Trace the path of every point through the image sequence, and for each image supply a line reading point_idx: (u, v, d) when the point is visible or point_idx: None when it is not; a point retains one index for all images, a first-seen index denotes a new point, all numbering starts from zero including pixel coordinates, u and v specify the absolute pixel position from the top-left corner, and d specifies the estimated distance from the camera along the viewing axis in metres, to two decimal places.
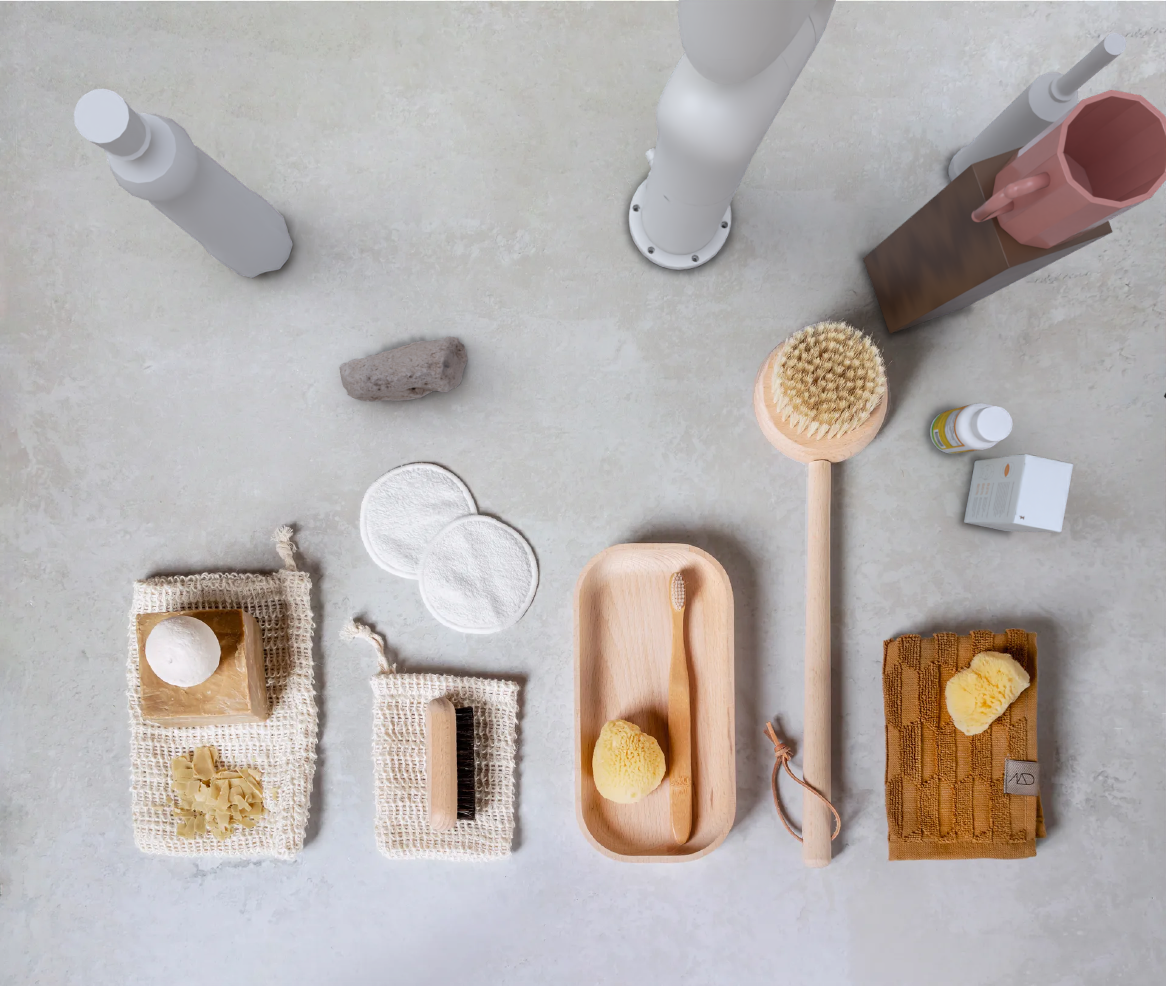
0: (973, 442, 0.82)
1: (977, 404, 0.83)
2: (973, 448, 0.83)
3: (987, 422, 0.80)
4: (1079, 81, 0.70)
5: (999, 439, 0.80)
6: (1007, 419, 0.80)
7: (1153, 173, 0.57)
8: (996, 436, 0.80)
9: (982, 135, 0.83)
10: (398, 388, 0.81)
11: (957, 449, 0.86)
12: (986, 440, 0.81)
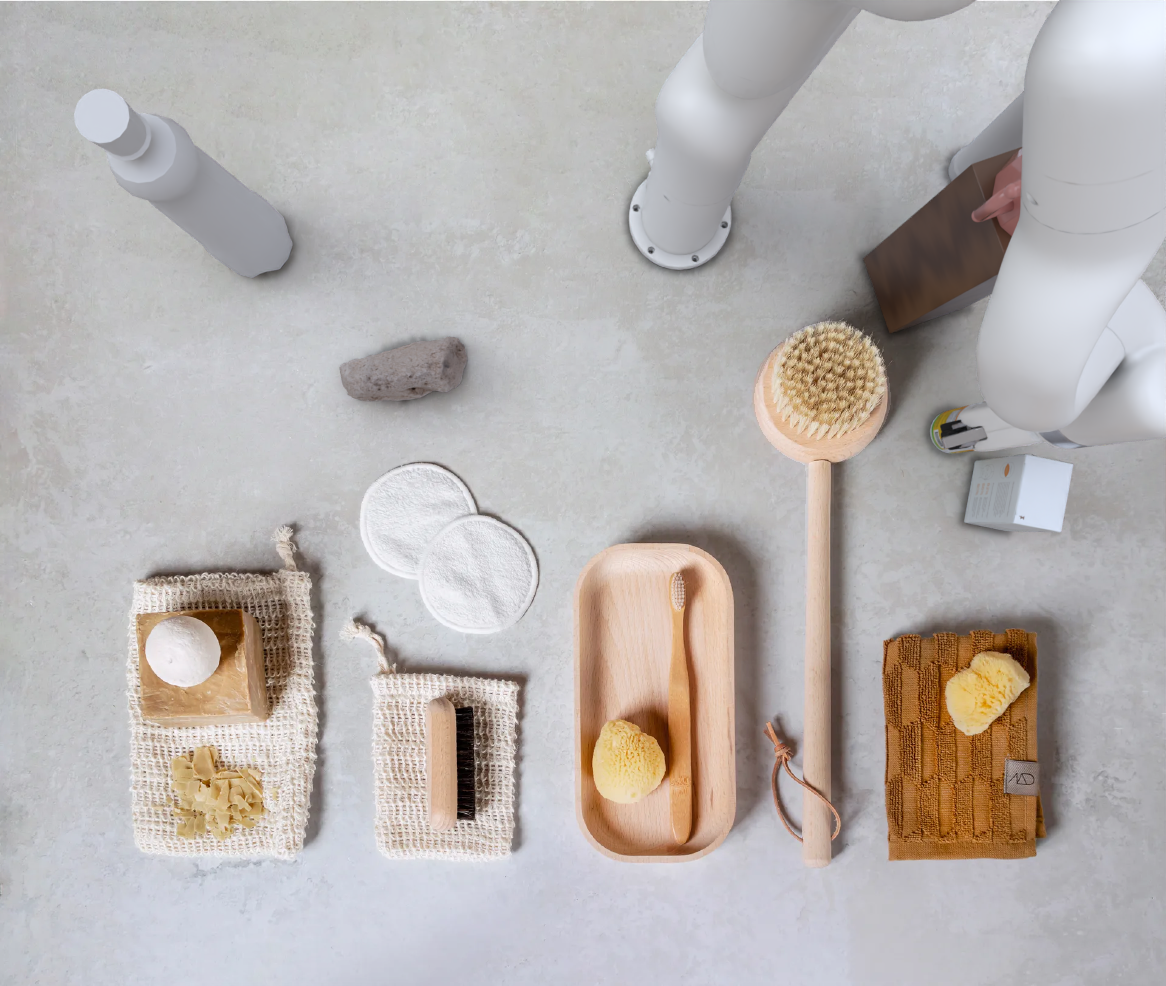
0: None
1: None
2: None
3: None
4: None
5: None
6: None
7: None
8: None
9: (982, 135, 0.83)
10: (398, 388, 0.81)
11: (957, 449, 0.86)
12: None
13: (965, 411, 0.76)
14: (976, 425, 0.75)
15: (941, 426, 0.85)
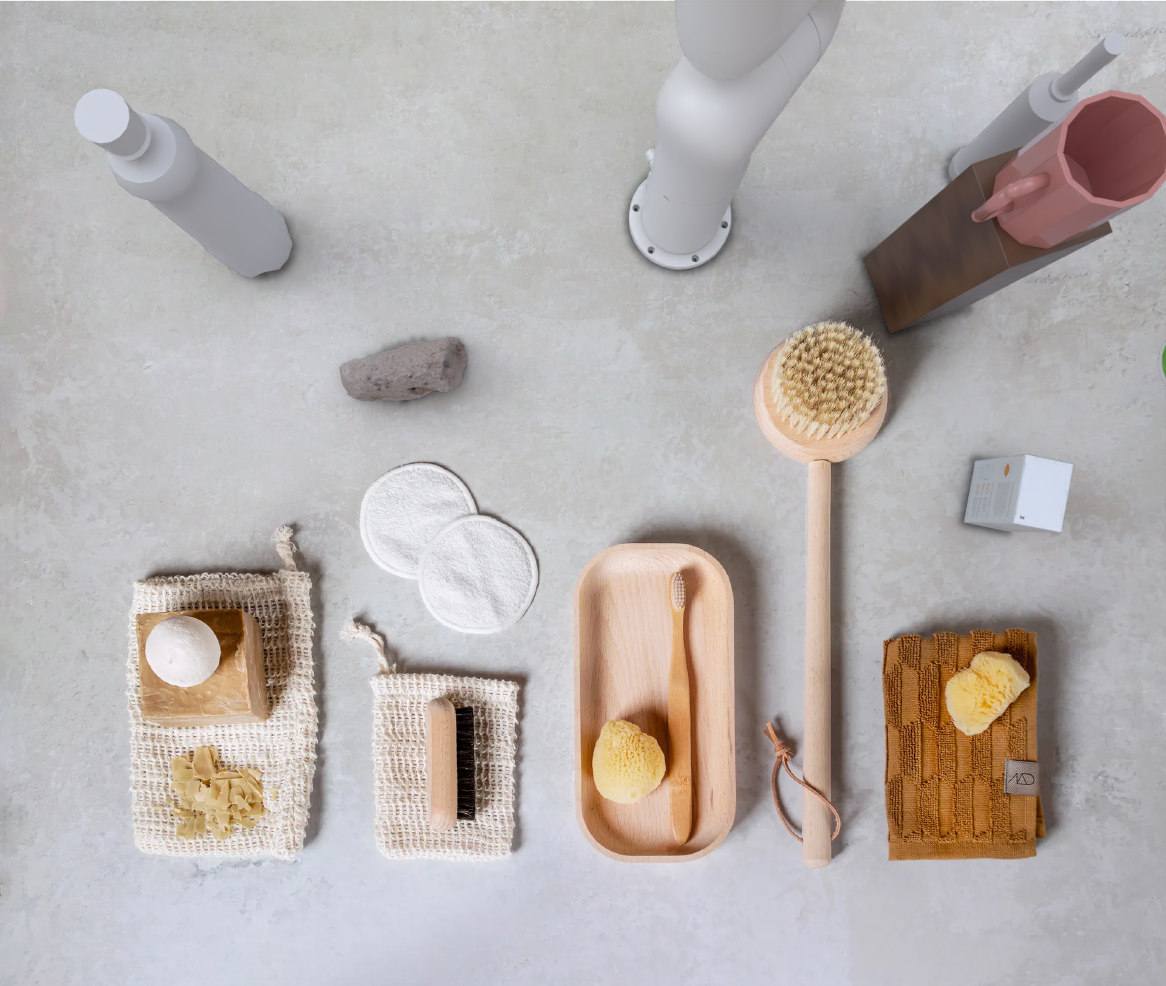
0: None
1: None
2: None
3: None
4: (1080, 80, 0.70)
5: None
6: None
7: (1153, 173, 0.57)
8: None
9: (982, 135, 0.83)
10: (398, 388, 0.81)
11: None
12: None
13: None
14: None
15: None
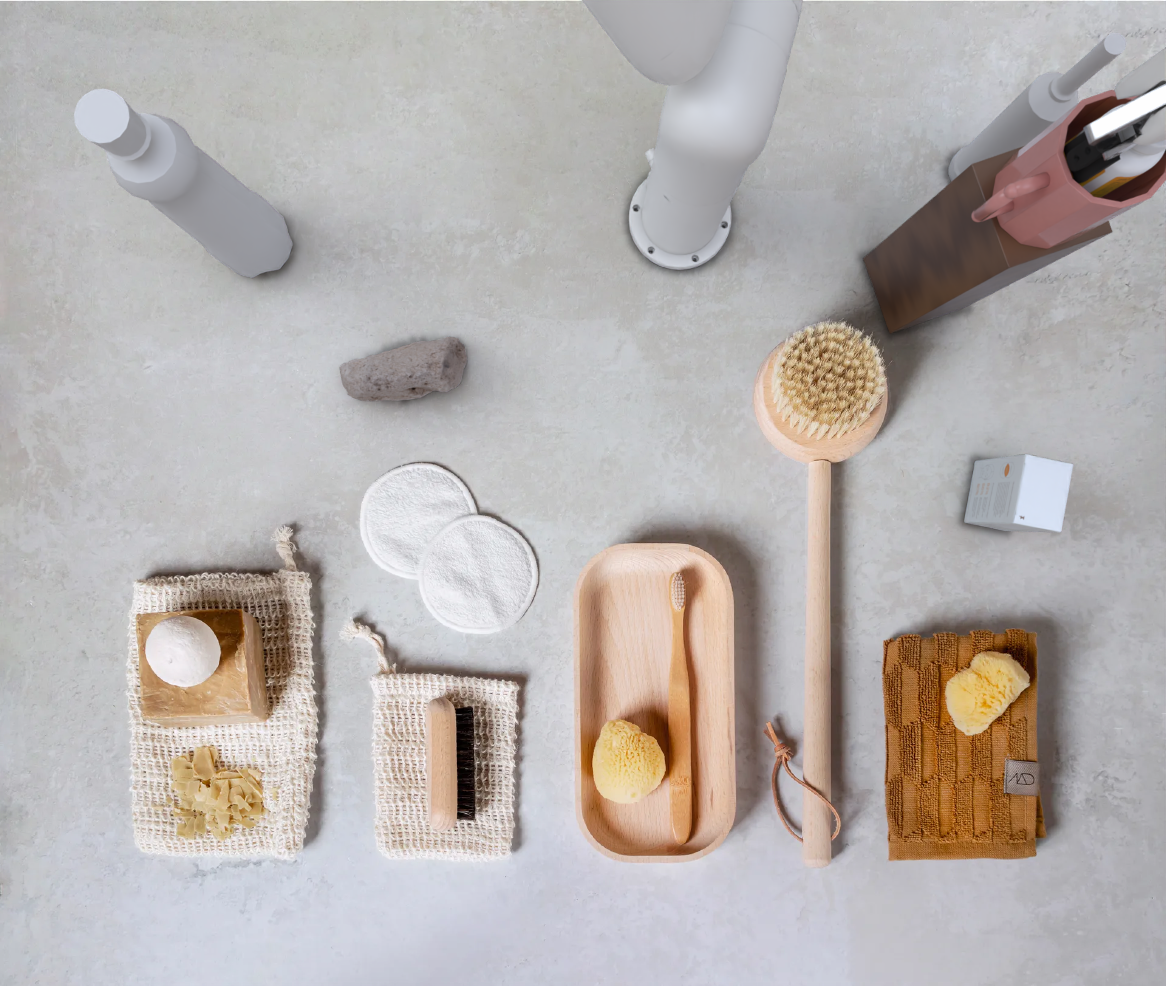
0: (1121, 160, 0.54)
1: None
2: (1119, 173, 0.55)
3: None
4: (1079, 80, 0.70)
5: None
6: None
7: (1153, 173, 0.57)
8: None
9: (982, 135, 0.83)
10: (398, 388, 0.81)
11: (1087, 188, 0.58)
12: (1147, 147, 0.52)
13: (1127, 75, 0.48)
14: (1151, 85, 0.46)
15: (1066, 147, 0.56)
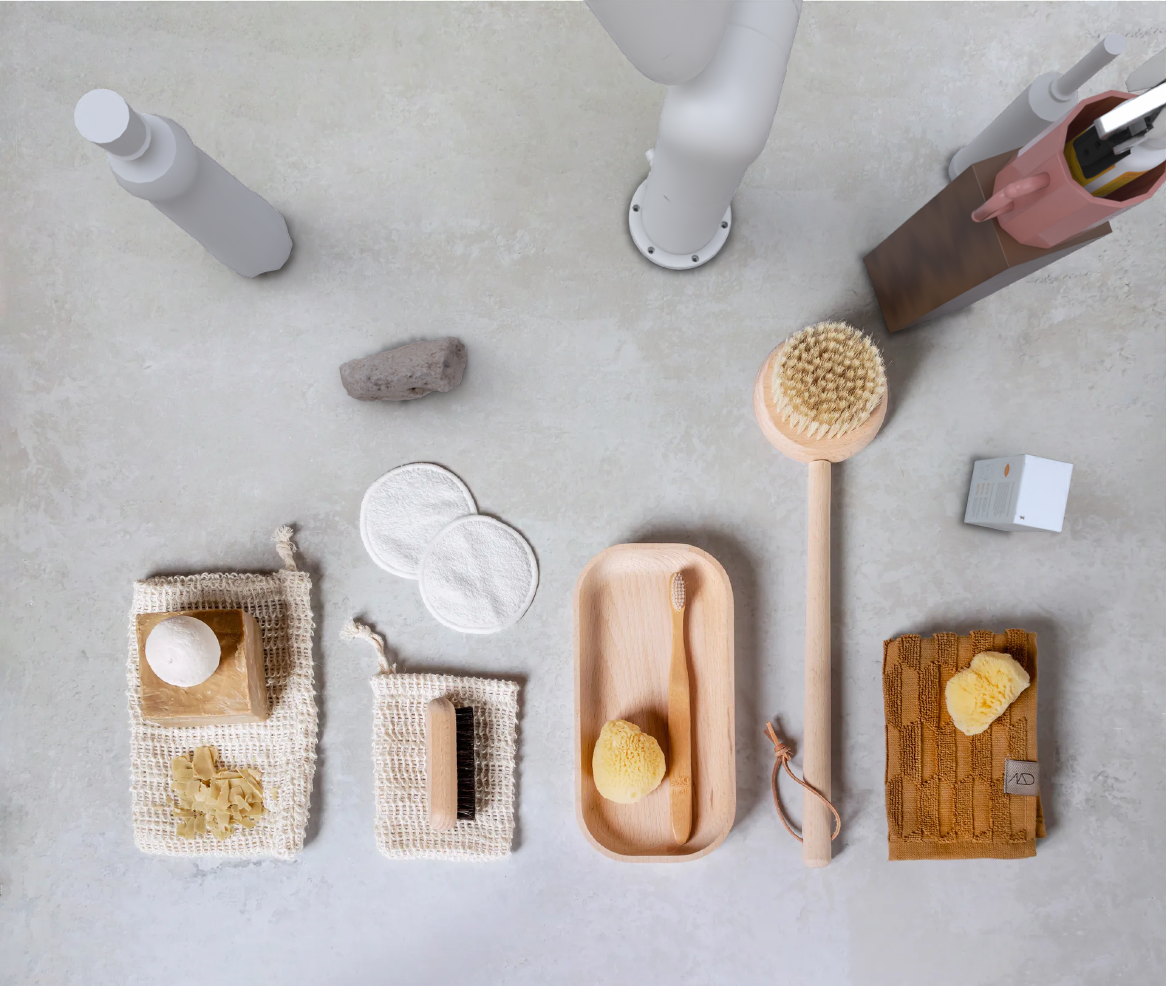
0: (1132, 155, 0.53)
1: None
2: (1129, 167, 0.54)
3: None
4: (1079, 80, 0.70)
5: None
6: None
7: (1153, 173, 0.57)
8: None
9: (982, 135, 0.83)
10: (398, 388, 0.81)
11: (1097, 183, 0.57)
12: (1158, 141, 0.51)
13: (1138, 67, 0.47)
14: (1163, 77, 0.45)
15: (1075, 142, 0.56)
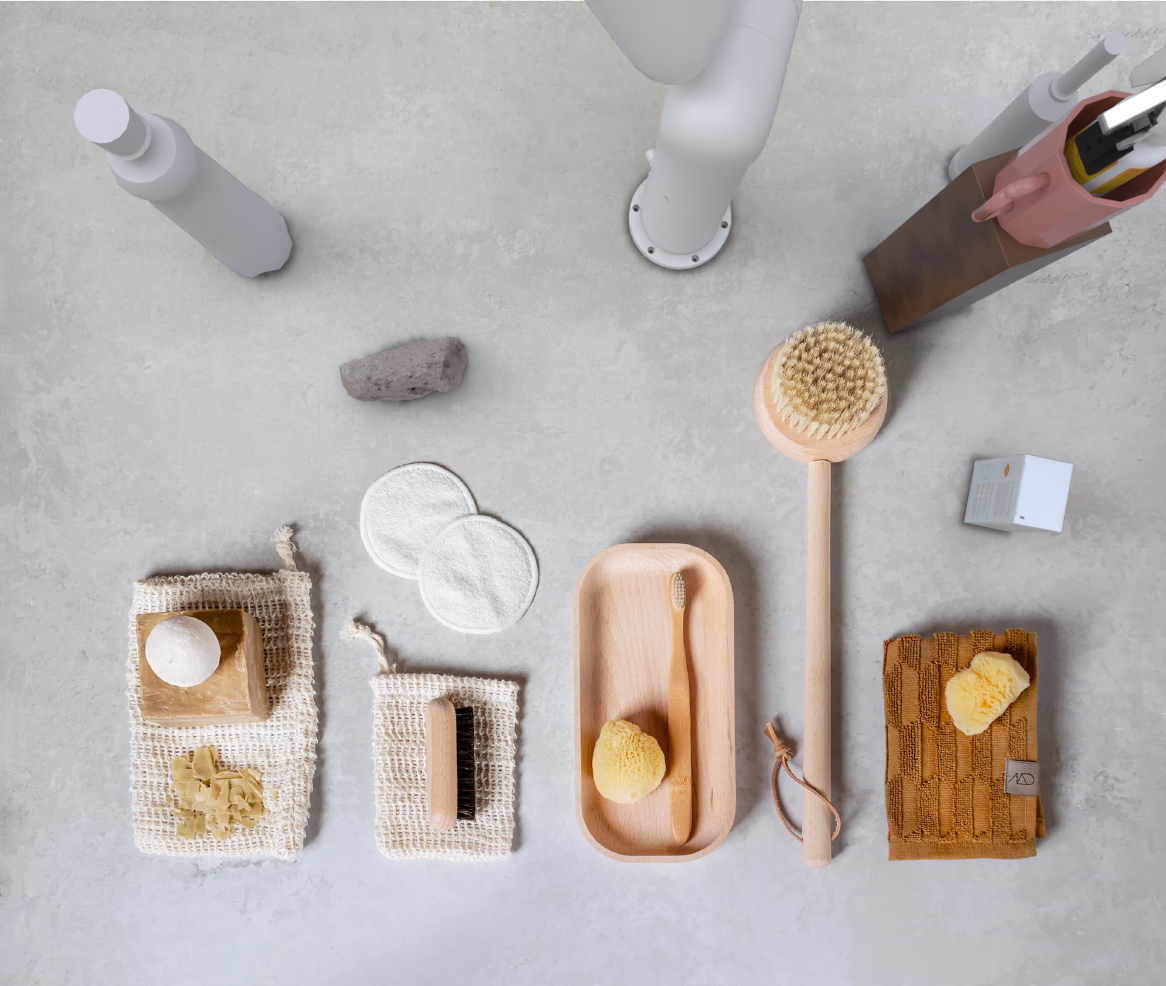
0: (1134, 151, 0.53)
1: None
2: (1132, 164, 0.53)
3: None
4: (1079, 80, 0.70)
5: None
6: None
7: (1153, 173, 0.57)
8: None
9: (982, 135, 0.83)
10: (398, 388, 0.81)
11: (1099, 180, 0.56)
12: (1161, 137, 0.51)
13: (1142, 62, 0.47)
14: None
15: (1077, 138, 0.55)
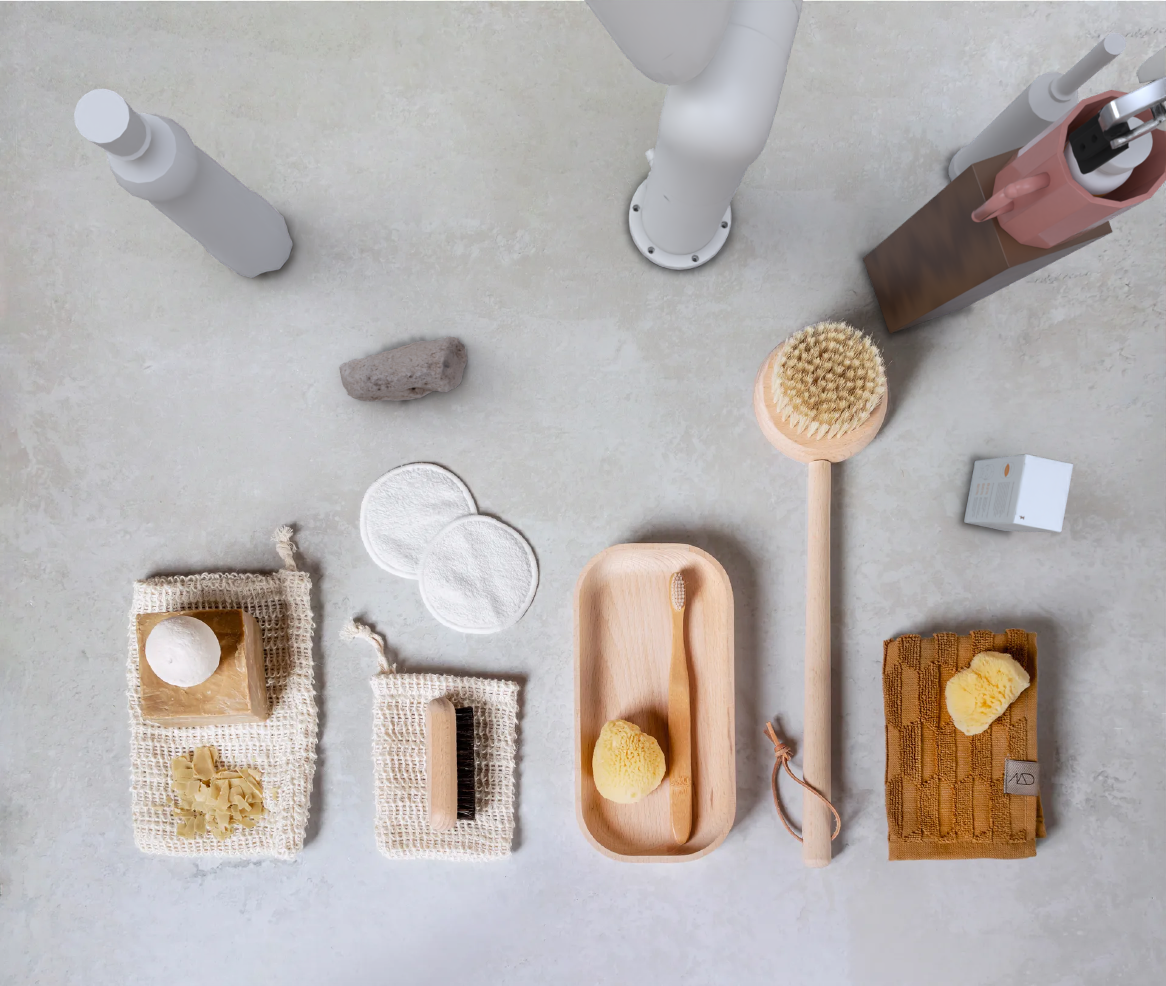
0: (1090, 179, 0.57)
1: None
2: (1089, 191, 0.58)
3: None
4: (1079, 80, 0.70)
5: (1132, 164, 0.55)
6: (1145, 134, 0.55)
7: (1153, 173, 0.57)
8: (1128, 159, 0.55)
9: (982, 135, 0.83)
10: (398, 388, 0.81)
11: None
12: (1112, 167, 0.55)
13: (1150, 58, 0.46)
14: None
15: (1071, 136, 0.54)
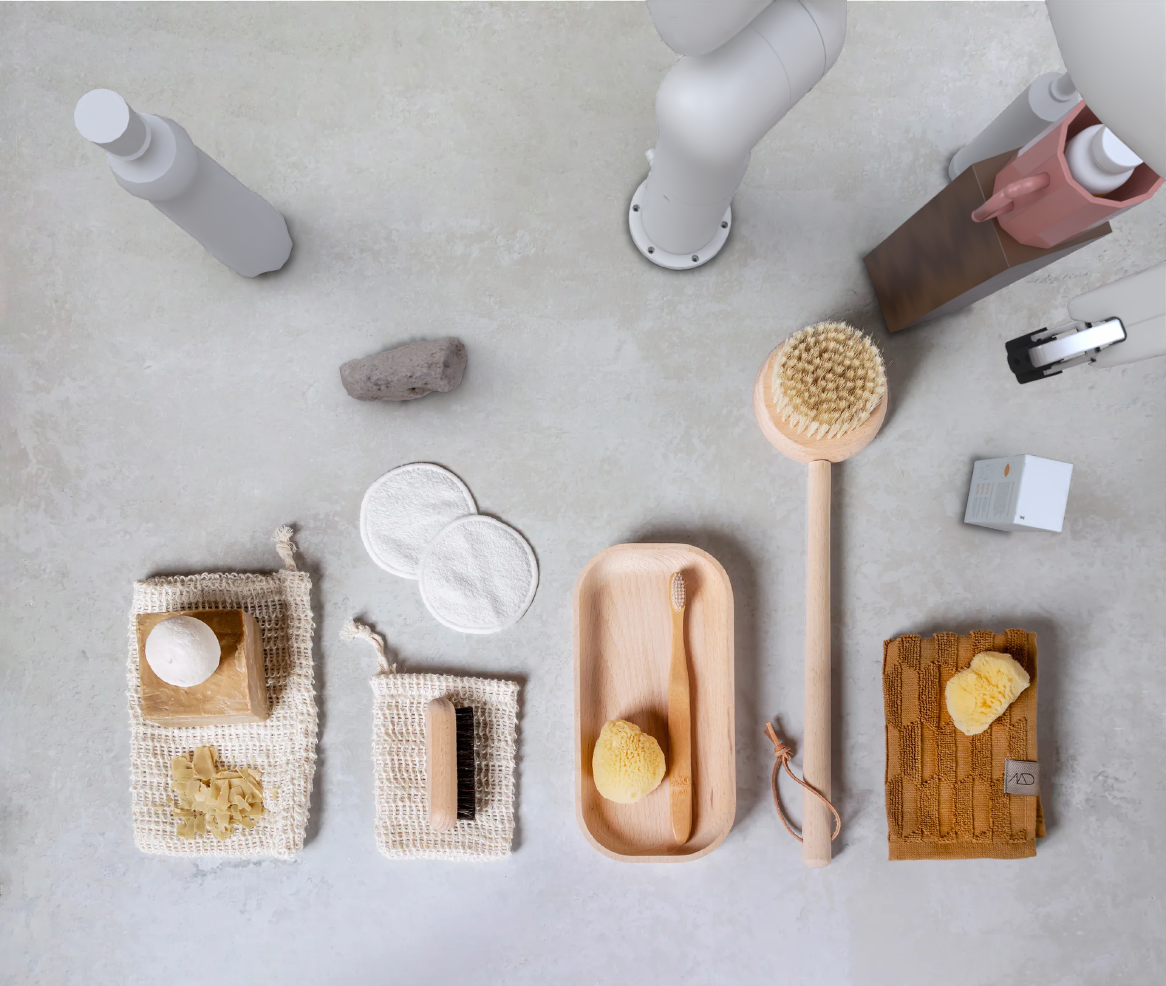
0: (1092, 178, 0.57)
1: (1097, 125, 0.57)
2: (1090, 190, 0.58)
3: (1117, 138, 0.55)
4: None
5: (1135, 163, 0.55)
6: None
7: (1153, 173, 0.57)
8: (1131, 158, 0.55)
9: (982, 135, 0.83)
10: (398, 388, 0.81)
11: None
12: (1115, 166, 0.55)
13: (1079, 297, 0.44)
14: (1104, 317, 0.42)
15: (1007, 345, 0.51)
